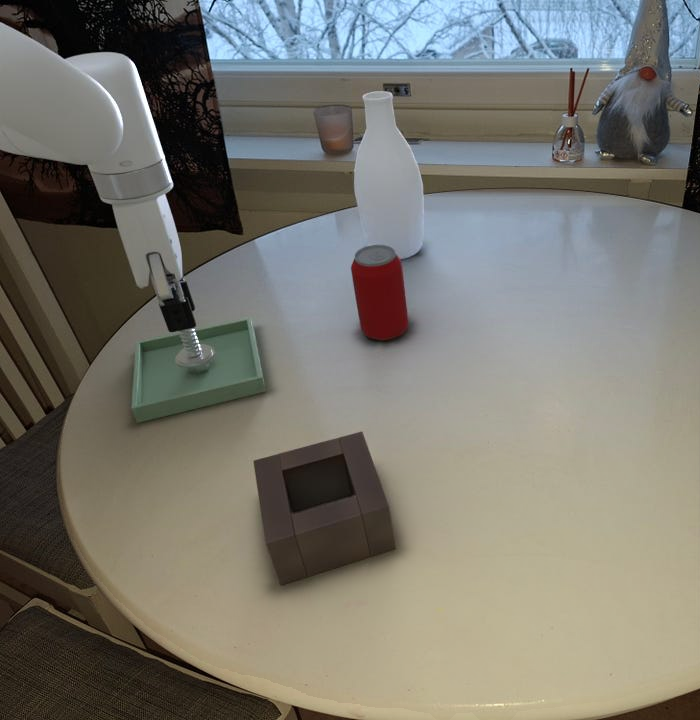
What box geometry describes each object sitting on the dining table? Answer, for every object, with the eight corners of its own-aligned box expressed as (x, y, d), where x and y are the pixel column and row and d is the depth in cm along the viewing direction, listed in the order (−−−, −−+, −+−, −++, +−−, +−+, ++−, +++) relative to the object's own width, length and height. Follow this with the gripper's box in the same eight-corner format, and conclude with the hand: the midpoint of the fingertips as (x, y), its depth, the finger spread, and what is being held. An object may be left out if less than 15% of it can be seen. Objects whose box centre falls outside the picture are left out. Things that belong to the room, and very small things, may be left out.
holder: (280, 586, 62) (265, 543, 59) (266, 501, 70) (253, 460, 67) (396, 548, 65) (389, 506, 61) (369, 472, 73) (362, 431, 70)
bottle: (378, 231, 122) (358, 83, 107) (437, 237, 119) (425, 86, 104) (352, 260, 113) (326, 104, 98) (415, 267, 111) (398, 107, 96)
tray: (137, 423, 81) (131, 408, 80) (141, 355, 93) (135, 341, 92) (266, 391, 85) (262, 377, 84) (254, 330, 97) (250, 316, 96)
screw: (224, 368, 88) (189, 384, 86) (209, 352, 91) (174, 367, 89) (196, 281, 81) (156, 295, 78) (181, 267, 84) (141, 281, 81)
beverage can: (392, 312, 100) (382, 237, 93) (418, 331, 95) (410, 254, 88) (352, 329, 96) (339, 253, 89) (378, 349, 92) (366, 271, 85)
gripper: (101, 159, 79) (151, 295, 90) (88, 213, 66) (149, 363, 77) (169, 149, 81) (210, 284, 92) (169, 199, 68) (218, 348, 79)
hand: (182, 319), depth 84 cm, fingers open, 3 cm apart
